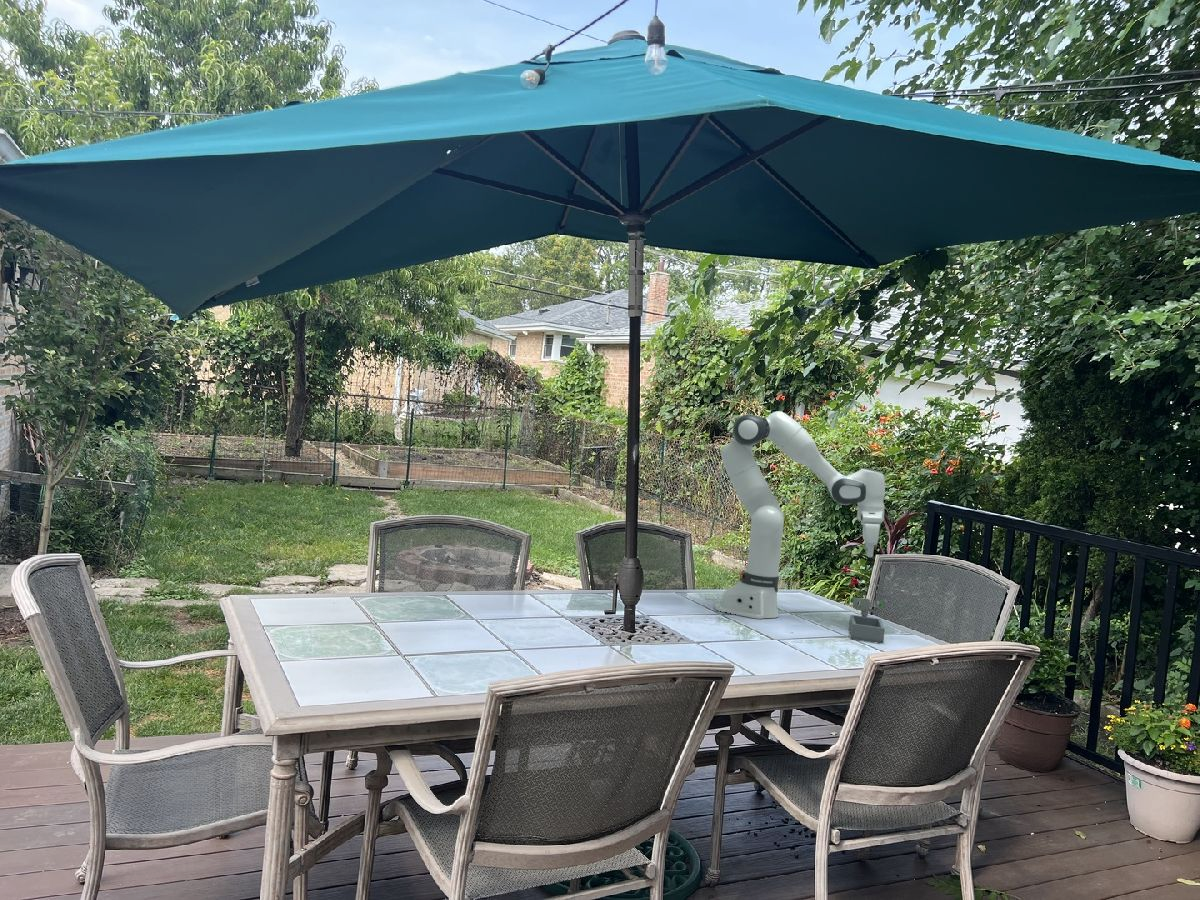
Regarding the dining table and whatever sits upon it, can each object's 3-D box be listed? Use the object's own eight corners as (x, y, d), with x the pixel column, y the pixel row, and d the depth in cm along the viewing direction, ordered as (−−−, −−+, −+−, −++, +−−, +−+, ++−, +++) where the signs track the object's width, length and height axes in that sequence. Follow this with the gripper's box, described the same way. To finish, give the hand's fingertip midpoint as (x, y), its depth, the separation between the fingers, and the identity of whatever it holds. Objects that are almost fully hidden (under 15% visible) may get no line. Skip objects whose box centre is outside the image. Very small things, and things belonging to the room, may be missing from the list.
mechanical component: (878, 630, 293) (881, 602, 292) (848, 626, 295) (851, 598, 294) (877, 628, 296) (880, 600, 295) (847, 624, 298) (850, 596, 297)
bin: (851, 639, 276) (852, 624, 276) (848, 629, 291) (850, 614, 291) (883, 644, 274) (884, 628, 274) (879, 633, 289) (880, 619, 288)
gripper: (859, 512, 304) (857, 550, 305) (863, 517, 284) (861, 558, 285) (877, 513, 303) (876, 551, 303) (882, 518, 283) (881, 559, 283)
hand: (869, 555), depth 294 cm, fingers open, 8 cm apart
